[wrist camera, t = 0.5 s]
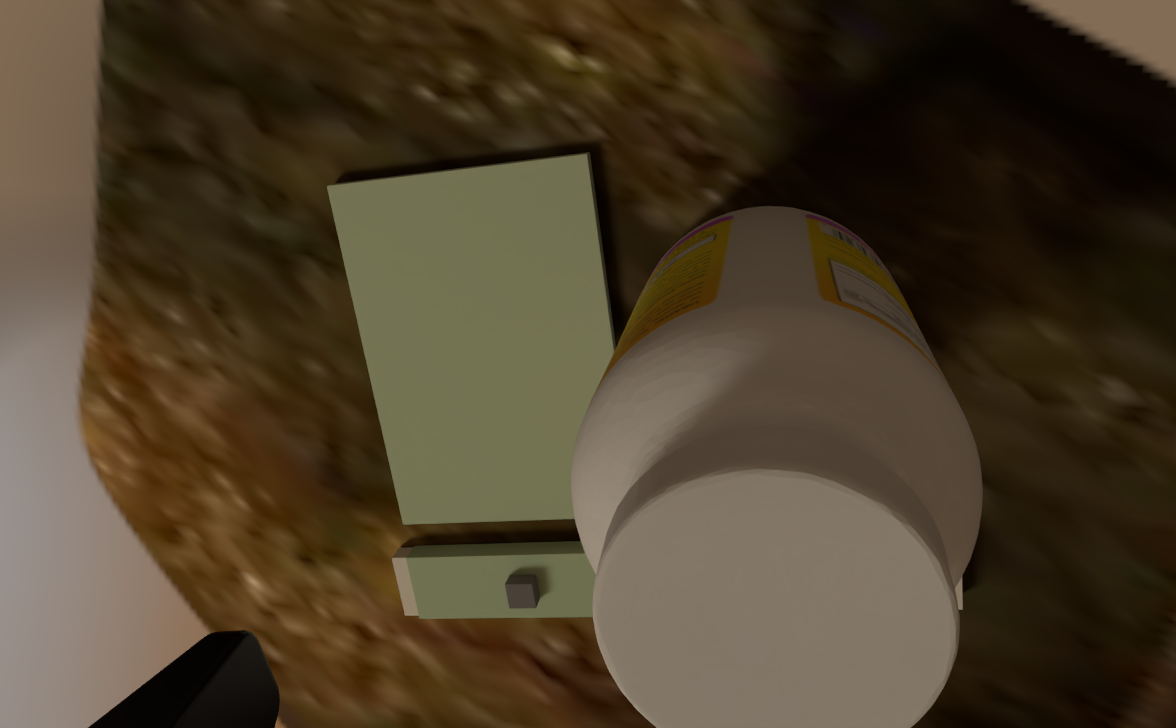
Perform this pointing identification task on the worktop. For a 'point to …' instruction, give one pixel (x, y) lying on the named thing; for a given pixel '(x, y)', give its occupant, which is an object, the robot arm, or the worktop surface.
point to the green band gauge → (483, 367)
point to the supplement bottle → (776, 487)
